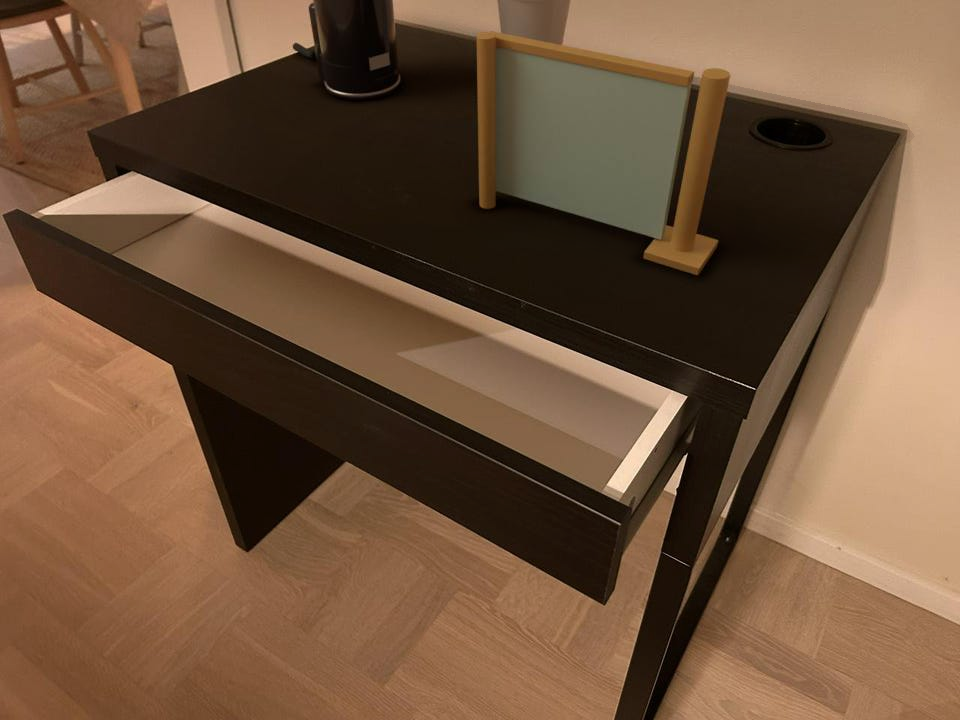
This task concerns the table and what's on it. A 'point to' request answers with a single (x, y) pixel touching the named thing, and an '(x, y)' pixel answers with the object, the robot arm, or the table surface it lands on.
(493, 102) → the wooden dowel rod
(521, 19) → the foam cup
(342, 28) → the robot arm
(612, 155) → the glass door
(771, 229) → the table surface
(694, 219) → the hinge post
